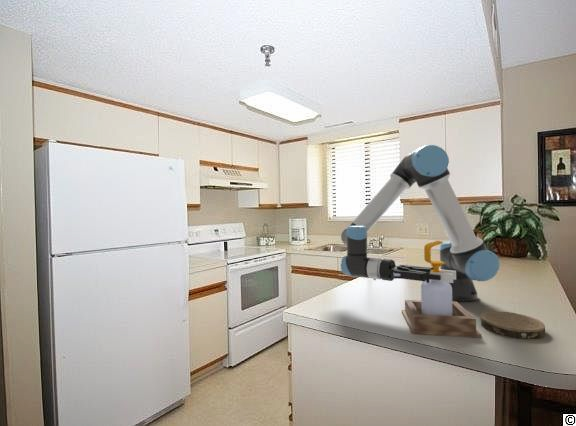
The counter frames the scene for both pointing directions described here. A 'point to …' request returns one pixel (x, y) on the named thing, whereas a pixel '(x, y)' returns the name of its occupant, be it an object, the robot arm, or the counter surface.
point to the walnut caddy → (440, 321)
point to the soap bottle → (435, 289)
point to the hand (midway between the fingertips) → (454, 276)
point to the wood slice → (513, 325)
